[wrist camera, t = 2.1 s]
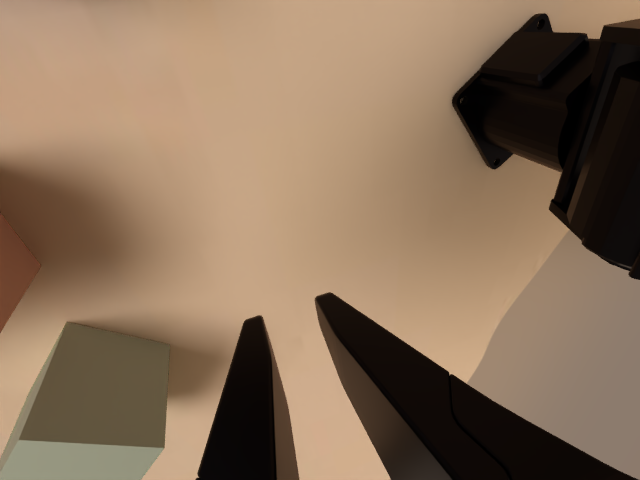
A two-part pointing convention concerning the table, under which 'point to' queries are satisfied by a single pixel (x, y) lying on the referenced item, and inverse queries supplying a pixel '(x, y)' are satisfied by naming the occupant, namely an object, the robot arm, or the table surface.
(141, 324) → the table surface
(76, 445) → the sage block
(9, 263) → the terracotta block
